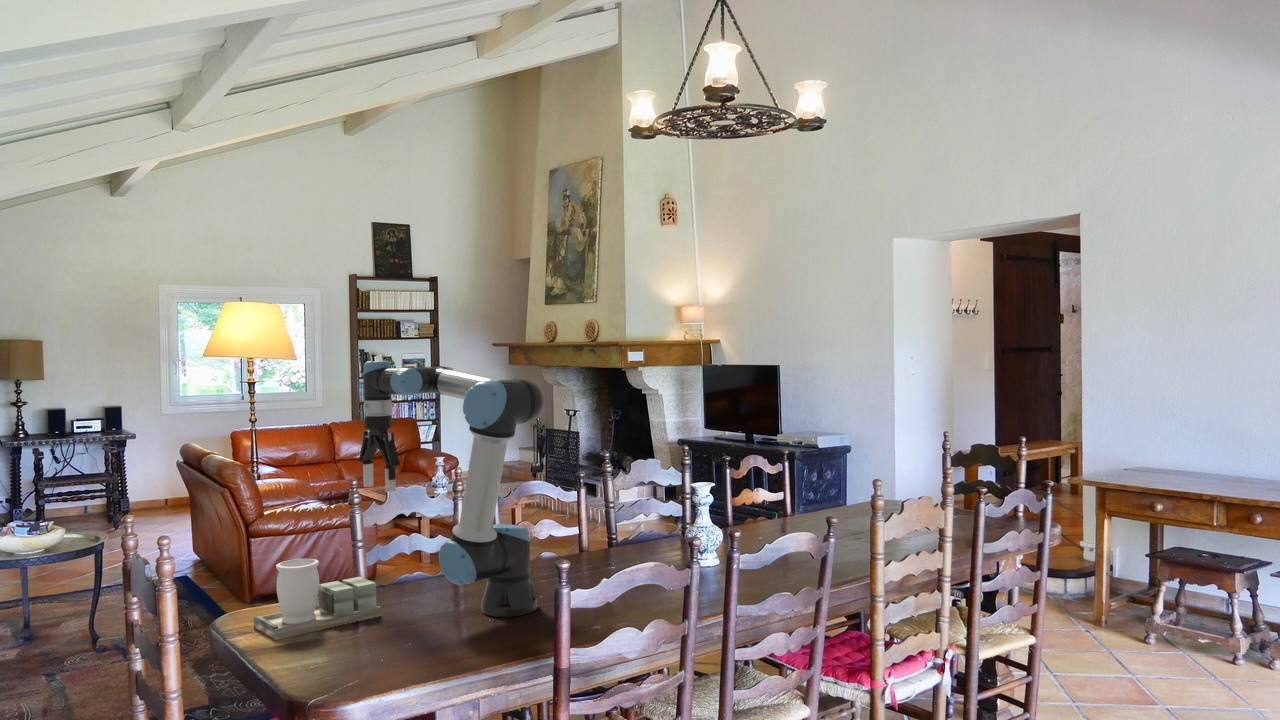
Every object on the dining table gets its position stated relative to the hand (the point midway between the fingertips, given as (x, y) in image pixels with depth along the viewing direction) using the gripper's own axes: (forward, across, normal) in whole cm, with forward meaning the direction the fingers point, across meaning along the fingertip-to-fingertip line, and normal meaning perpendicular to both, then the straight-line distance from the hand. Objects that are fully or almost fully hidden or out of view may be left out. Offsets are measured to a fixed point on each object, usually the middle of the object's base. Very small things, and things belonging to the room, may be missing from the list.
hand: (379, 489), depth 261 cm
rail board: (+32, +8, -22) cm, 39 cm away
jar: (+30, +8, -27) cm, 42 cm away
